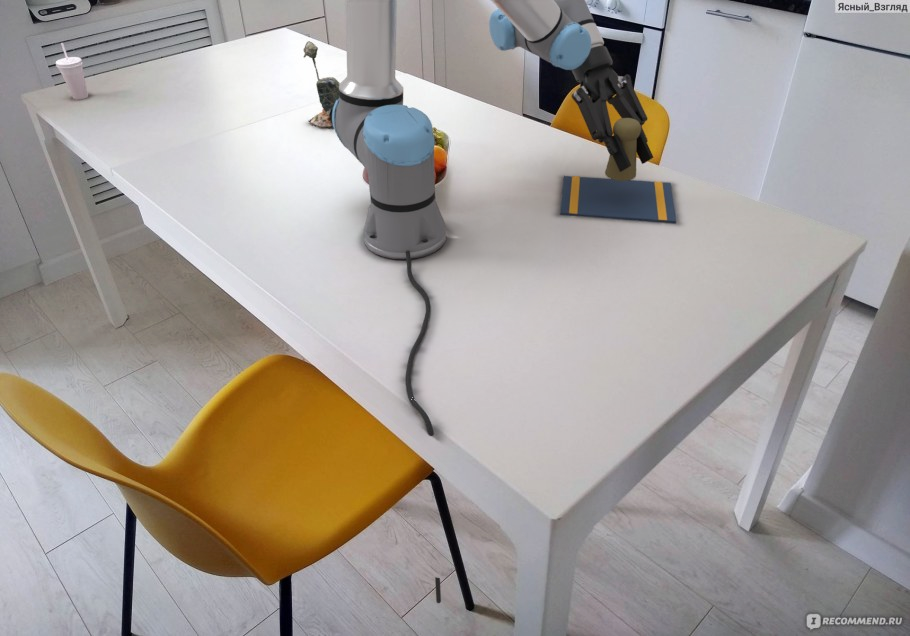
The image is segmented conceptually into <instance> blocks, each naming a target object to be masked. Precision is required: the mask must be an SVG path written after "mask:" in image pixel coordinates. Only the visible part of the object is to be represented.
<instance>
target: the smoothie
mask: <svg viewBox="0 0 910 636" xmlns="http://www.w3.org/2000/svg"><path fill="white" fill-rule="evenodd" d="M60 45H61V48H62V51H63V54H64V57H62V58H59V59H57V60H56V61H55V66H56V68H58V70H59V72H60V75H61V76H62V78H63V80H64V83H65V84H66V86H67V88H68V90H69V92H70V95H71V97H72V98H73V99H74V100H84V99H86V98H88V97H89V94H88V93H89V92H88V89H87V84H86V80H85V74H84V68H83V60H82V58H81V57H78V56H68V54H67V50H66V47H65V44H64V42H61V43H60Z"/></svg>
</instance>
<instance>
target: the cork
mask: <svg viewBox="0 0 910 636" xmlns="http://www.w3.org/2000/svg"><path fill="white" fill-rule="evenodd" d="M612 131H613V136H614V135H616V134H617V135H618V137H619V139H620V141H621V143H622V146H623V148H624V150H625V152H626V154H627V157H628V159H629V161H630V163H631V166H630V167H628V168H627V169H625V170H624V171H621V172H620V171H619V169H618V166H617V164H616V162H615V160H614V158H613V155H612V156H611V155H610V154H609V158H608V160H607V164H606V167H605V171H604V174H605V176H606V178H608V179H613V180H617V181H628V180H635V179H636V177H637V138H638V137H639V135H640V132H641V125H640V123H639V122H638V121H637V120H635V119H632V118H621V117H620V118H619V119H617V120H615V122H614V124H613V126H612Z"/></svg>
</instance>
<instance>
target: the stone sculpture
mask: <svg viewBox="0 0 910 636" xmlns="http://www.w3.org/2000/svg"><path fill="white" fill-rule="evenodd" d="M318 50H319V47H318V46H317V45H316V44H315V43H314V42H312V41H310V40H307V42H306V43H305V45H304V48H303V53H304V55H303V58H305V59H306V57H308V58H310V59H312V63H313V66H314V68H315V73H316V78H317V81H316V84H315V85H316V90H317V95H318V98H319V104H320V105H321V107H322V110H321V111H322V112H319V113H318V114H316V115H314V117H312V118H310V119H309V120H308V121H307V122H308V123H309V124H312V125H315V126H317V127H319V128H322V127H325V128H326V127H328V128H329V127H333V122H332V112H333V107H334V104H335V102H336V100H338V99H339V84H340V83H341V82H339V81H338V79H336V78H335V77H333V76H329V77H322V78H320V77H319V76H320V75H319V72H318V69H317V65H316V64H317V63H316V58H317V55H318Z"/></svg>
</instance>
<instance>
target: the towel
mask: <svg viewBox="0 0 910 636" xmlns="http://www.w3.org/2000/svg"><path fill="white" fill-rule="evenodd" d="M671 184H672V183H671V182H664V181H655V180H654V181H650V180H649V181H648V180H635V179H632V180H628V181H617V180H613V179H610V178H604V177H603V178H602V177H588V176H587V177H586V176H577V175H564V176H563V183H562V192H561V202H560V212H559V215H560V216H571V217H572V216H573V217H584V218H600V219H612V220H626V221H640V222H654V223H665V224H676V223H677V217H676V209H675V203H674V197H673V189H672V185H671Z"/></svg>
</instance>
